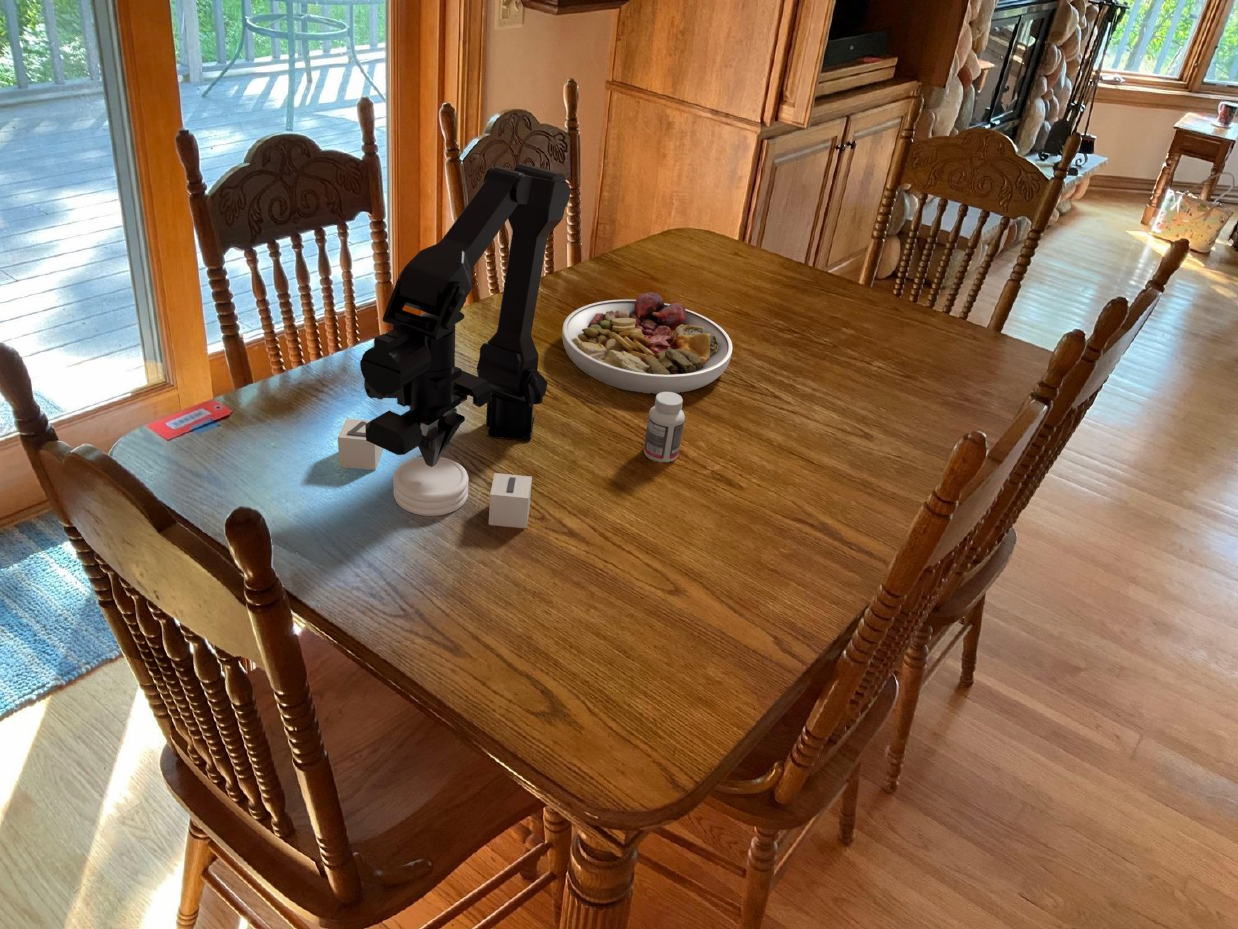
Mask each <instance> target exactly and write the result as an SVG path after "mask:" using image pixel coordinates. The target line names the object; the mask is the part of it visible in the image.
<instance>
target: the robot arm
mask: <svg viewBox="0 0 1238 929" xmlns="http://www.w3.org/2000/svg"><path fill="white" fill-rule="evenodd" d="M570 198H571V187H570V184H569V182H567V180H566V176H565V175H564V174H563V173H561V172H557V171H554V170H549V169H546V168H542V167H538V166H535V165H534V166H533V165H531V164H526V163H524V162H520V163H518V164H517V165H516V166H515V167H514V168H508V167H502V166H498V165H497V166H495V167H494V166H493V167H490V168H488V169H487V171H486V172H485V175H484V177H483V184H482V185H481V186H480V187H479V188H478V190H477V191H476V192H475V194H474V195H473V197H472V198H471V199H470V201H469V202H468V204H467V205H466V206H465V207H464V209H463V210H462V212H461V213H460V214H459V215H458V217H457V219H456V220H455V221H454V222H453V224H452V225H451V227H450V228H449V229H448V231H447V232H446V233H445V235H444V236H443V237H442V238H441V239H440V241H439V242H438V243H436V244H433V245H430V246H428V247H426V248H423V249H421V250H420V251H419V252H418V253H416V254H415V255H414V257H412V259H411V260H410V261H409V262H407V263H406V264H405V266H403V269H402V270H401V272H400V273H399V274H398V276H397V280H396V282H395V284H394V288H393V290H392V292H391V294H390V298H389V301H388V303H387V305H386V308H385V311H384V312H383V313H384V314H383V316H382V322H383V323H387V324H389V325H392V329H391V330H389V331H388V332H386V333H382V334H381V333H380V334H379V335H378V336H376V337H375V338H374V340H373V346H372V347H370V348H367V350H365V351H364V353H363V354H362V358H361V360H359V361H360V362H359V367H360V371H361V374H362V377H363V379H364V382H363V383H364V384H363V387H364V390H365V393H366V396H367V397H368V398H370V399H377V400H383V399H396V404H397V405H399V406H402V407H404V408H405V407H407V406H408V407H409V410H407V411H406V412H404V413H402V414H399V413H396V412H394V411H392V410H387V411H385V412H384V413H381V414H380V415H379V416H377V417H375V418H373V419H371V420H369V421H370V422H368V423H367V424H365V431H366V441H368V442H370V443H372V444H375V445H377V446H379V447H381V448H383V450H386V451H388V452H390V453H392V454H394V455H397V456H403V455H407V454H408V453H409V452H411V451H413V450H414V449H416V448H419V452H420V454H421V457H423V459H424V461H425V463H426V465H428V466H430V467H433V466H435V465H436V464H437V462H438V460H439V459H440V457H442V455H443V453H444V452H445V450H446V448H447V446H448V445H449V444H450V441H451V440H452V439H453V437H454V435H455V434H456V432H457V430H458V429H459V428H460V426H461V425H462V424H463V423H464V422H465V420H466V417H465V415H463V414H460V413H458V412H457V411H458V410H457V408H456V407H458V406H459V405H461V404H462V403H464V402H465V401H468V396H470V397H472V404H474V406H476V407H478V408H481V407H483V406H485V405H486V416H485V417H486V419H485V421H486V422H485V426H486V427H487V428H488V430H487V437H490V438H498V439H508V440H516V441H517V440H519V441H531V440H532V434H533V429H534V424H535V423H534V422H535V417H534V407H535V405H541V404H543V398H544V397H545V395H546V392H547V387H548V385H549V384H548V381H547V380H546V379H545V377H544V376H543V375H542V374H541V373H540V372H539V371H538V367H539V353H538V350H537V347H536V345H535V342H534V340H533V338H532V331H533V327H534V326H533V324H534V319H535V314H536V309H537V308H536V307H537V301H538V296H539V290H540V285H541V284H540V283H541V278H542V272H543V265H544V260H545V254H546V248H547V244H548V239H549V238H548V237H549V235H551V233H552V232H553V231H554V229H556V228H557V227H558V225H559V224H560V223H561V222H562V220H563V219H564V215H565V211H566V208H567V205H568V203H569V201H570ZM507 221H508V222H509V225H510V228H511V238H510V245H509V250H508V251H509V252H508V258H507V264H506V272H505V277H504V283H503V284H504V285H503V291H502V298H501V304H500V311H499V316H498V321H497V322H498V323H497V328H496V332H495V333H494V334H493V335H492V337H490V339H489V340H488V341H487V342H483V344H481V346H480V347H479V358H478V363H477V364H476V365H477V366H476V372H477V376H476V375H474V374H472V373H470V372H467V371H465V370H463V369H462V368H461V367H458V366H456V364H455V363H456V359H455V358H456V324H458V323H459V322H461V321H462V320H464V318H465V314H464V313H463V312H462V309H463V307H464V305H465V304H466V301H467V299H468V298H467V297H468V296H469V294H470V292H472V291H471V290H472V288H473V286H472V280H473V279H472V272H473V270H474V269H475V267H476V265H477V263H478V262H479V260H480V259H481V258H482V256H483V255H484V253H485V252H486V251H487V249H488V247H489V246H490V245H491V243H492V242H493V240H495V237H496V236H497V235H498V233H499V232H500V230H501V229H502V228H503V226H505V223H506V222H507ZM405 306H407V307H408V308H410V309H414V310H418V311H419V312H420V311H421V312H423V313H422V314H420V315H419V314H415V313H412V312H409V311H407V310H403V309H404V308H405Z"/></svg>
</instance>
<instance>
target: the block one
mask: <svg viewBox="0 0 1238 929" xmlns="http://www.w3.org/2000/svg"><path fill="white" fill-rule="evenodd" d="M532 479H533V476H529V475H521V474H520V475H518V474H510V473H509V474H508V473H498V472H494V474H493V478H492V485H491V489H490V493H489V508H488V510H489V512H488V526H497V527H498V526H499V527H506V528H507V527H508V528H516V529H517V528H520V529H527V527H528V520H529V513H530V507H531V494H532V484H533V483H532V482H533V481H532Z"/></svg>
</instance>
